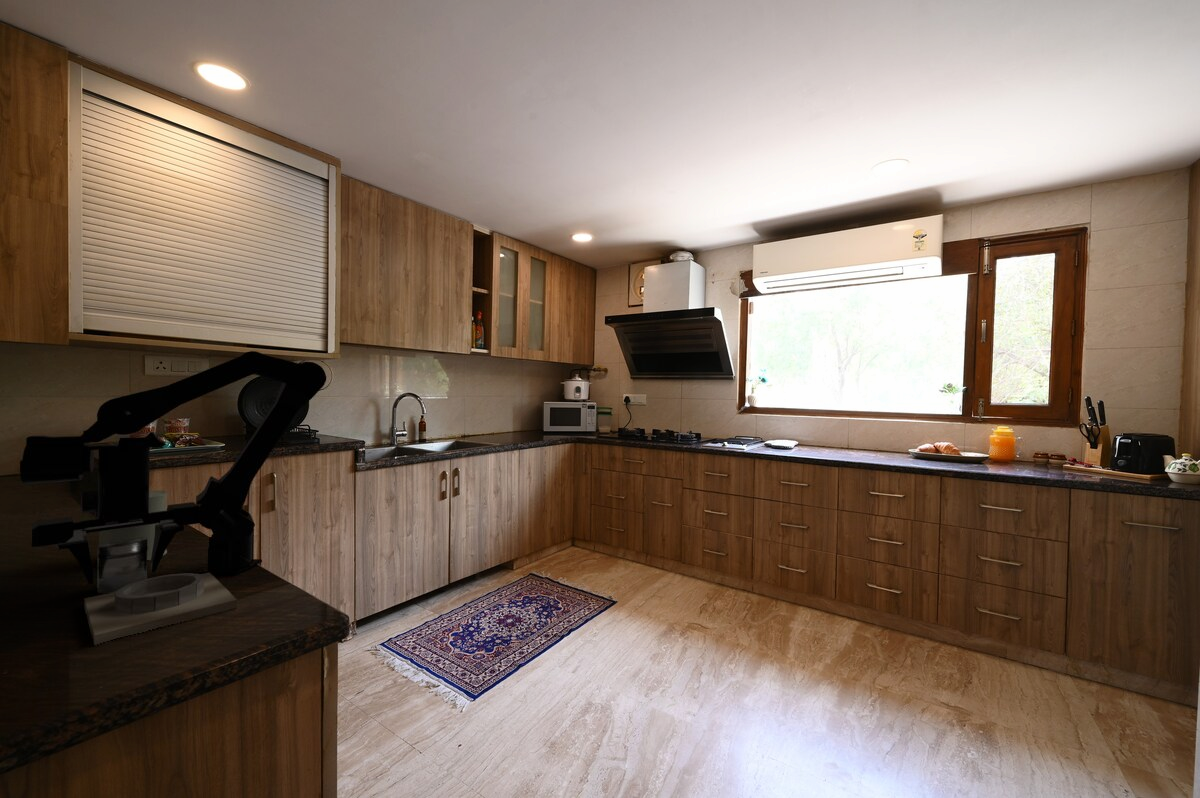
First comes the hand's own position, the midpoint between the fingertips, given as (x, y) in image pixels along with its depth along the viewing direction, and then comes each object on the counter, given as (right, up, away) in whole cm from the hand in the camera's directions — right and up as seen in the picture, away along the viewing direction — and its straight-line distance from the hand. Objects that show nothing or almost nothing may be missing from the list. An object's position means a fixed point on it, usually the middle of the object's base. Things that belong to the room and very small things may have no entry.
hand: (122, 577), depth 76 cm
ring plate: (+12, -2, -7) cm, 14 cm away
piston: (0, -2, 0) cm, 2 cm away
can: (-12, -2, +14) cm, 18 cm away
